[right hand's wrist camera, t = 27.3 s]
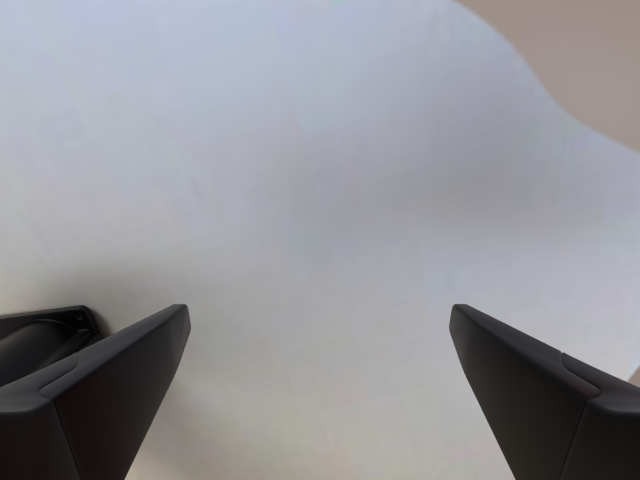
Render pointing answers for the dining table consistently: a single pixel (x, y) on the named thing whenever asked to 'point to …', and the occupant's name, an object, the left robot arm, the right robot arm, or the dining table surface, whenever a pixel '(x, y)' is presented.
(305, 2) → the dining table surface
